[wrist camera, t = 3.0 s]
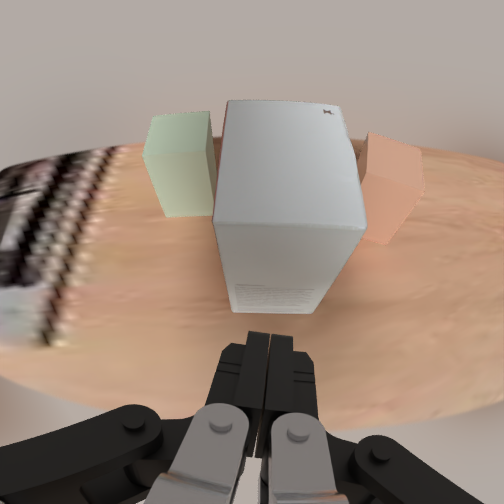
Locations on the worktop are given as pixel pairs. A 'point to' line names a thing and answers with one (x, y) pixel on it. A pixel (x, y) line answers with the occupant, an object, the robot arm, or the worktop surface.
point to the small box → (285, 204)
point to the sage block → (182, 163)
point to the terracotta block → (388, 184)
